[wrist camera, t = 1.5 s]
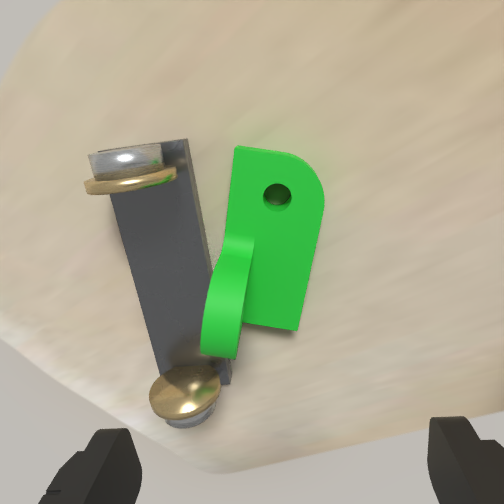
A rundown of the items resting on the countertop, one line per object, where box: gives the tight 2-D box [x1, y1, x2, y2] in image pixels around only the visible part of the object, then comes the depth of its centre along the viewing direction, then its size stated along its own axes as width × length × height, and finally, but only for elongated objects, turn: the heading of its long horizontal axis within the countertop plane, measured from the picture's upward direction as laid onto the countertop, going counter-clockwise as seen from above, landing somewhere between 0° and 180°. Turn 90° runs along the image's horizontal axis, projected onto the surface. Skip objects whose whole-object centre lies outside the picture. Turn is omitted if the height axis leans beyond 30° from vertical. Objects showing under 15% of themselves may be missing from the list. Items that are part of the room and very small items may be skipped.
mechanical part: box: [200, 146, 324, 360], centre depth 22 cm, size 12×6×8 cm, turn 172°
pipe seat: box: [84, 139, 232, 428], centre depth 24 cm, size 6×19×6 cm, turn 7°
